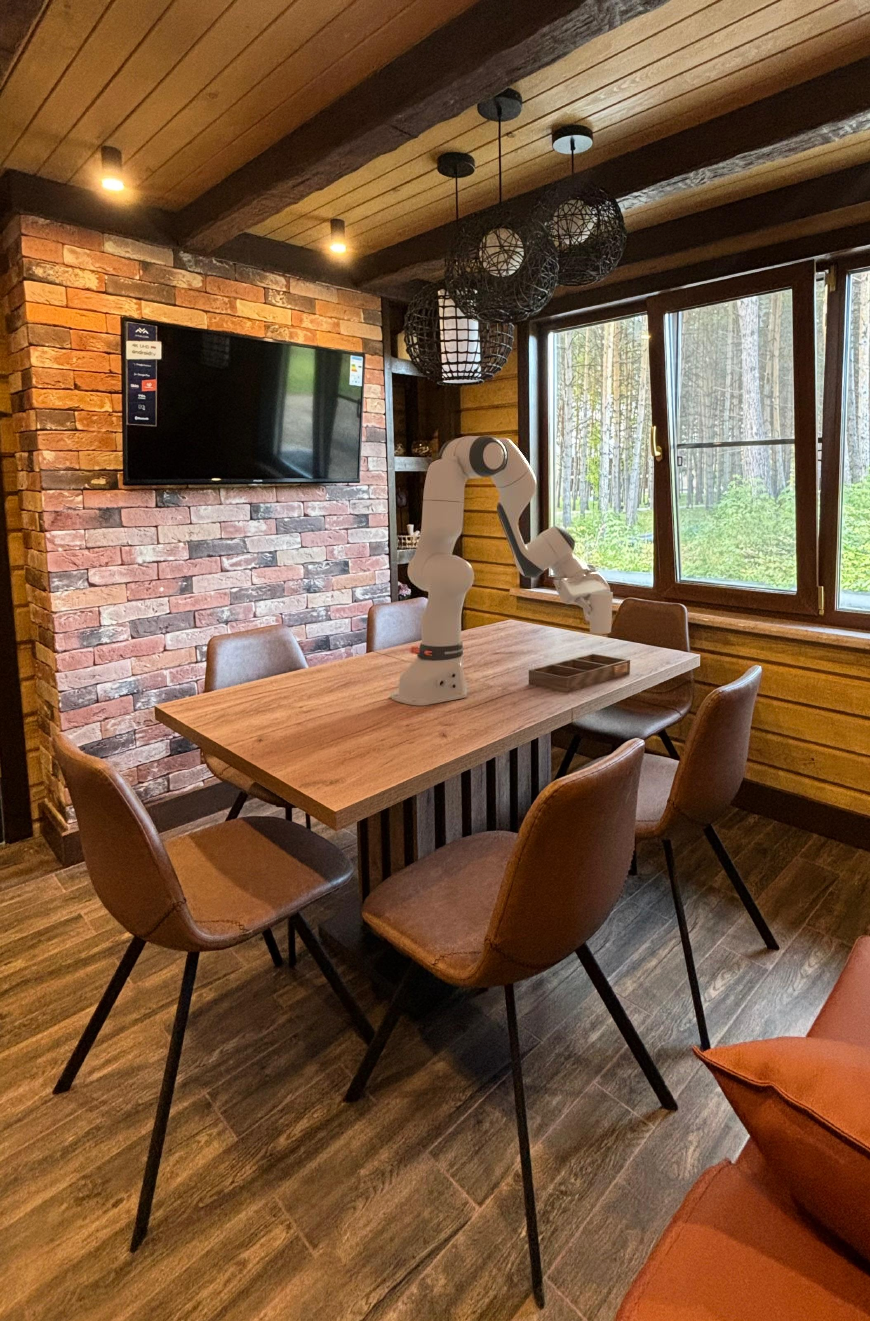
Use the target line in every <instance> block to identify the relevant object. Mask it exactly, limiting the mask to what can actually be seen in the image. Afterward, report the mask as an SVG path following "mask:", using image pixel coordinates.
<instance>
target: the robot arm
mask: <svg viewBox="0 0 870 1321" xmlns="http://www.w3.org/2000/svg"><path fill="white" fill-rule="evenodd" d="M489 477H490V479H491V480H492V482H493V484H494V485H495V488H496V489H497V492H498V503H497V505H496V512H497V515H498V518H499V522H500V524H501V527H502V530H503V532H504V535H505V538H506V540H507V542H508V545H509V547H510V550H511V553H512V556H513V559H514V564H515V566H516V568H517V570H518V572H519V573H520V574H521V575H522V576H523V577H524V578H529V579H537V578H538V577H539V576H541V575H542V574H543V573H544V572H545V571H546V570H548V569H551V570H552V572H553V575H554V577H553V580H552V583H553V584H554V586H555V590H556V592H557V594H558V596H559V597H560V599H561V601H562V602H563V603H565V605H571V604H577V606H579V607H580V608H582V609H583V608H584V610H585V611H586V612H588V613H590V612H591V611H592V610H593V608H592V607H591V605H590V603H589V604H588V603H586V602H585V601H586V597H587V596H589V595H590V592H594V591H608V592H611V587H610V584H608V582H607V581H606V579H605V578H604V577H603V575H601V573H599V572H598V568H597V566H596V565H595V564H590V563H587V562H584V561H581V560H580V559H579V558H578V556H576V555H575V554H574V553H573V552H574V550H575V545H576V541H575V539H574V538H573V536H572V535H571V534H570V533H569V532H568V530H567V529H566V527H565V526H561V525H556V524H555V525H553V526H551V527H549V528H548V529H546V530H543V531H542V532H540V533H539V534H538V535H537V537H535V538H534V539H532V540H531V541H530V542H528V543H526V544H525V542H524V539H523V537H522V534H521V532H520V531H521V530H520V529H519V525H518V523H519V519H520V517H521V515H522V513H523V512H524V510H525V509H526V507H527V506H528V504H529V503H530V502H531V501H532V499H533V497H534V495H535V493H536V489H537V478H536V476H535V474H534V471H533V468H532V467H531V465H530V463H529V461H528V460H527V459H526V457H525V456H524V455H523V453H522V452H521V451H520V449H519V448H518V446H517V445H515V443H514V442H513V441H512V440H511V439H509V438H507V437H500V438H495V437H493V436H489V435H481V436H480V435H476V436H475V435H466V436H462V437H459V438H458V437H456V438H451V439H450V440H448V441H447V442H445V443H444V444H443V445H442V446H441V448H440V450H439V451H438V456H437V459H436V460H435V461H433V462H431V463H430V465H429V466H428V468H427V472H426V476H425V482H424V488H423V494H422V495H423V497H422V498H423V500H422V515H421V528H420V533H419V538H418V543H417V546H416V549H415V552H414V554H413V557H412V559H411V560H410V561H409V562H408V565H407V577H408V579H409V580H410V582H411V583H412V584H413V585H414V586H416V588H418V589H420V591H424V592H427V593H428V595H427V601H426V605H425V608H424V611H423V612H422V614H421V617H420V626H421V627H420V628H421V629H420V631H421V635H420V636H421V642H420V644H419V647H418V646H411V647H410V649H409V652H410V653H411V654H413V655H416V657H417V658H415V660H414V661H413V662H412V663H411V664H410V665H409V666H408V667H407V668H406V669H405V670H404V672H402V674H401V675H400V677H399V681H398V690H396V691H393V692H391V693H390V699H392V700H393V701H394V702H395V701H396V702H398V703H401V704H406V705H410V706H411V705H412V706H421V707H422V706H428V705H433V704H438V703H443V702H449V701H454V700H458V699H459V700H460V699H465V698H468V692H469V689H468V686H467V683H466V678H465V672H464V665H463V655H464V644H463V642H462V610H463V605H464V602H465V598H466V595H467V592H469V590H470V589H471V588H472V586H473V584H474V581H475V574H474V572H475V571H474V569H473V567H472V565H471V564H470V563H469V562H468V561H467V560H465V559H464V558H462V557H460V556H458V555H456V554H453V552H454V548H455V545H456V542H457V540H458V538H459V537H460V536H461V535H462V532H463V525H464V508H465V487H466V483H467V481H468V480H469V479H479V478H489Z"/></svg>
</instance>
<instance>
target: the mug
mask: <svg viewBox="0 0 870 1321" xmlns="http://www.w3.org/2000/svg"><path fill="white" fill-rule="evenodd" d="M613 593H614V592H612V591H610V592H608V591H594V592H590V595H589V596H587V597H586V601H585V602H586V603H587V604H588V603H589V604H590V605H591V607H592V608H593V610H592V611H591V612H586V611H585V610H584V608H582V609H583V610H582V611H583V615H584V619H585V621H586V622H589V633H591V634H596V635H597V634H598V635H603V634H604V635H606V634H610V633H612V622H613V620H612V619H613V618H612V617H613V616H612V615H613V600H614V599H613V597H614V596H613V595H614V594H613Z"/></svg>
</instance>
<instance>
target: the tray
mask: <svg viewBox="0 0 870 1321" xmlns="http://www.w3.org/2000/svg"><path fill="white" fill-rule="evenodd" d="M630 674H631V660H630V659H626V658H621V657H614V656H608V655H603V654H599V653H598V654H597V653H590V654H586V655H581V656H578V657H573V658H570V659H566V660H562V661H558V662H554V663H550V664H547V665H543V666H539V667H536V668H532V669H529V670H528V685H531V686H535V687H540V688H544V689H548V688H549V689H548V690H554V691H557V690H558V692H561V691H562V693H566V692H567V693H570V691H571V692H573V691H572V690H574V691H577V690H580V689H579V688H581V689H584V688H587V687H590V686H593V685H592V684H594V685H596V684H595V683H597V684H599V682H600V683H603V681H604V682H606V681H610V680H613V679H616V678H620V677H624V676H626V675H630ZM586 686H587V687H586ZM583 687H584V688H583ZM576 689H577V690H576Z"/></svg>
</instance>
